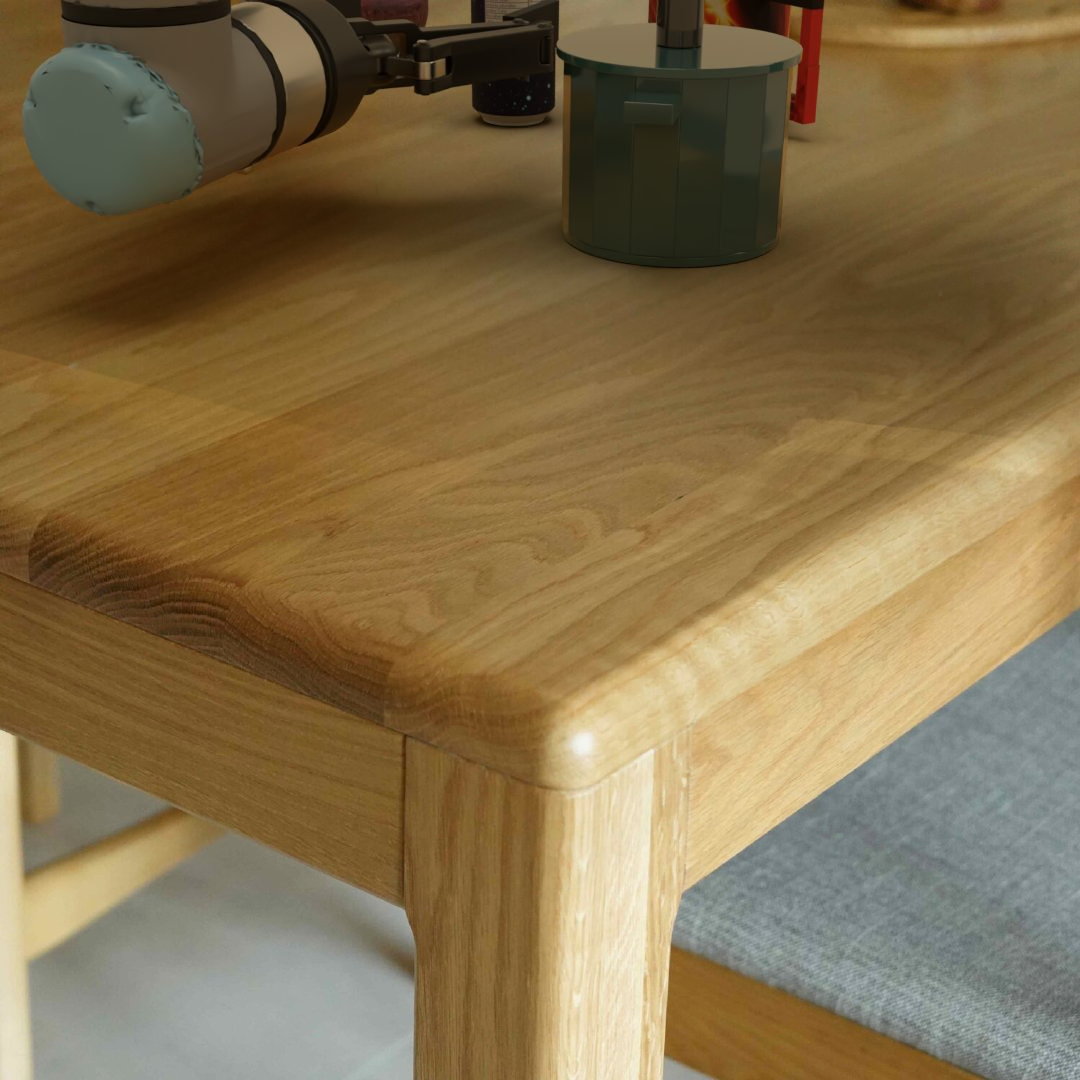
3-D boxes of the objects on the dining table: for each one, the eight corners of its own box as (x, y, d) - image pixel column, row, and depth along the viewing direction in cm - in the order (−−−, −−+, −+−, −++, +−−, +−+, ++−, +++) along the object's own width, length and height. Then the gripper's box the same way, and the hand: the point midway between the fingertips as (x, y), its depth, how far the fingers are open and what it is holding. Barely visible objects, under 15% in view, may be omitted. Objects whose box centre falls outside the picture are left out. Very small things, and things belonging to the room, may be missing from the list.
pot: (794, 200, 95) (807, 31, 91) (758, 292, 80) (772, 95, 76) (598, 186, 97) (601, 21, 93) (528, 273, 83) (528, 81, 78)
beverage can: (569, 116, 114) (572, -68, 108) (527, 132, 109) (528, -58, 104) (500, 106, 116) (499, -74, 111) (456, 122, 112) (453, -65, 106)
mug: (808, 143, 107) (824, -51, 102) (620, 118, 113) (626, -67, 108) (860, 115, 114) (878, -67, 109) (680, 92, 121) (689, -81, 115)
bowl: (435, 47, 135) (432, -55, 132) (424, 80, 124) (421, -31, 120) (240, 46, 135) (232, -56, 132) (211, 78, 124) (202, -33, 120)
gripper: (78, 125, 90) (282, 57, 108) (488, 177, 82) (638, 94, 99) (61, -17, 87) (275, -63, 104) (488, 21, 78) (643, -36, 95)
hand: (452, 13), depth 102 cm, fingers open, 13 cm apart
